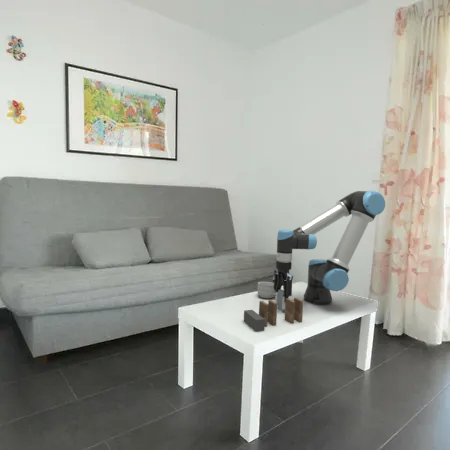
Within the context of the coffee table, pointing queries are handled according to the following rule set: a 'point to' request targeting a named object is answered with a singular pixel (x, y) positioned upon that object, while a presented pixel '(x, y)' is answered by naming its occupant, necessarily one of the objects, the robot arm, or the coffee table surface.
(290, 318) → the domino
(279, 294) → the domino
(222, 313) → the coffee table surface
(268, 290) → the teacup
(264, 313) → the domino
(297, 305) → the domino
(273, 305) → the domino
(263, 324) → the block
